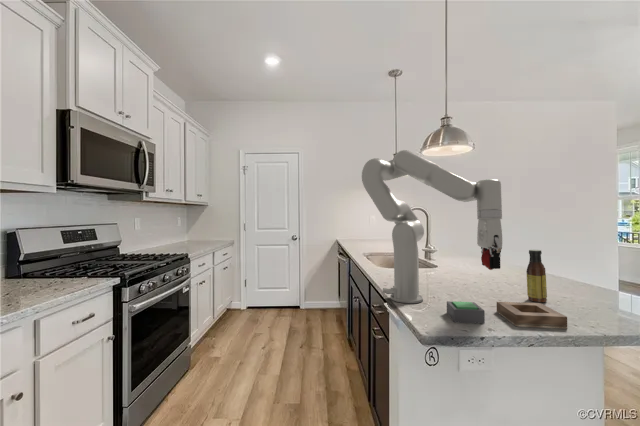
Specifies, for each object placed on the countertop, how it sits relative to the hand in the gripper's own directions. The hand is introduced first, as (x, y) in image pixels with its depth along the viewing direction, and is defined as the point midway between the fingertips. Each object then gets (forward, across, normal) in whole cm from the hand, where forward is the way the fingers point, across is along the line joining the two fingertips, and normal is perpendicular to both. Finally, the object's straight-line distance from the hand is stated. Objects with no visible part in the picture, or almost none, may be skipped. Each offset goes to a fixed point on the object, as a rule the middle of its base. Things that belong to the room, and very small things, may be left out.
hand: (490, 266), depth 106 cm
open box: (+16, +6, +9) cm, 19 cm away
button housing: (+16, +7, -11) cm, 21 cm away
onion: (+1, 0, 0) cm, 1 cm away
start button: (+14, +7, -11) cm, 19 cm away
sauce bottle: (+16, -17, +23) cm, 33 cm away
